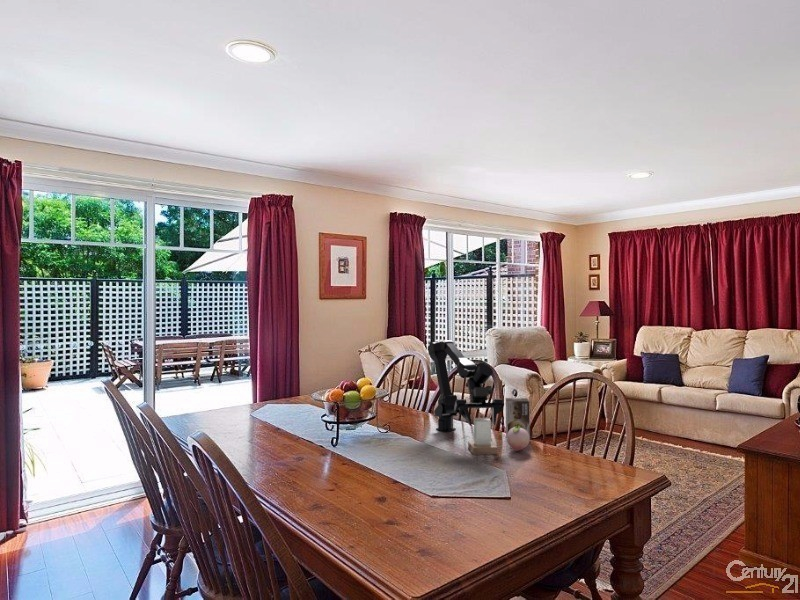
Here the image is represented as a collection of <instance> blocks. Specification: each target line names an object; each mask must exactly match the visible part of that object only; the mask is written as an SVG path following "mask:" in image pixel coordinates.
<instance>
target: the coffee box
mask: <svg viewBox="0 0 800 600" xmlns="http://www.w3.org/2000/svg"><path fill="white" fill-rule="evenodd" d="M517 425H518V426H520V427H521V428H523V429H525V430H526V431H527V432H528V434H529V441H531V439H530V438H531V437H530V436H531V435H530V434H531V433H530V432H531V430H530V401H529V399H528V398H525V397H507V398H506V397H505V437H506V438H507V434H508V431H509V430H510V429H511V428H514V427H515V426H517Z"/></svg>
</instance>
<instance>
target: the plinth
mask: <svg viewBox="0 0 800 600" xmlns="http://www.w3.org/2000/svg"><path fill="white" fill-rule="evenodd" d="M467 447H468V449H469V451H470V452H471V454H472V455H474V456H475V455H476V456H477V455H498V446H497V445H496V444H495V443H494V442H493V441H492V440H491V446H476V445H475V444H474V440H469V441H467Z"/></svg>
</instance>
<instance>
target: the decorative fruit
mask: <svg viewBox="0 0 800 600" xmlns="http://www.w3.org/2000/svg"><path fill="white" fill-rule="evenodd" d="M506 439H507V444H508V445H509V446H510V448H511V449H513V450H514V451H516V452H519V451H522V450H523V449H525V448H526V447H527V446H528V445H529V443H530V440H529V434H528V432H527V431H526V430H525V429H523V428H521V427H520V426H518V425H517V426H515V427H514V428H511V429H510V430H509V431H508V434H507V437H506Z"/></svg>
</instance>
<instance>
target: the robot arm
mask: <svg viewBox="0 0 800 600" xmlns="http://www.w3.org/2000/svg"><path fill="white" fill-rule="evenodd" d="M427 351H428V354H429V355H428V356H429V358H430V359H431V360H432V361H433V362H434V366H435V372H436V377H437V383H438V389H439V396H438V399H437V406H436V408H435V409H434V411H433V412H434V416H436V417H437V418H438V421H437V423H438V424H437V428H435V430H437V431H440V432H444V433H448V432H449V433H450V432H451V431H455V430H456V427H454V417H456V416H458V415H460V416H462V417H463V419H465V421H466V422H467V423H468V425H469V426H472V419H471V415H470V413H469V409H490V410H491V418H492V419H491V421H492V423H493V425H494V426H496V423H497V415H498V414H499V413H501V412H502V411H503V410H504V407H505V401H504V399H502V398H492V401H491V402H486V401H488V396H492V394H493V386H492V385H486V386H483V385H485V384H486V383H487V382H488V380H489V379H490V378H491V376H492V375H493V374H494V371H493V369H492V367H491V366H489V365H488V364H486V363H485V362H484V361H482V362H479V363H478V364H476V362H475V363H474V361H472V360H471V359H468V358H466V357H465V356H464V355H463V353H462V352H461V351H460V350H459V348H458V347H457V346H456V345H455V343H454V341H453V340H449V339H448V340H442V341H433V342H432V341H431V342H430V343H429V344H428V346H427ZM448 357H449V358H450V359H451V361H452V362H453V363H454V364H455V365H456V371H457V373H458V375H459V376H460V378H461V379H467V380H466V383H465V387H467V388H468V394H469V401H470V402H467V399H459V398H458V396H457V395H456V394H453V392H452V388H451V384H450V378H449V373H448V368H447V367H448V366H447V363H446V362H447V361H446V360H447V358H448ZM457 414H458V415H457Z"/></svg>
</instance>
